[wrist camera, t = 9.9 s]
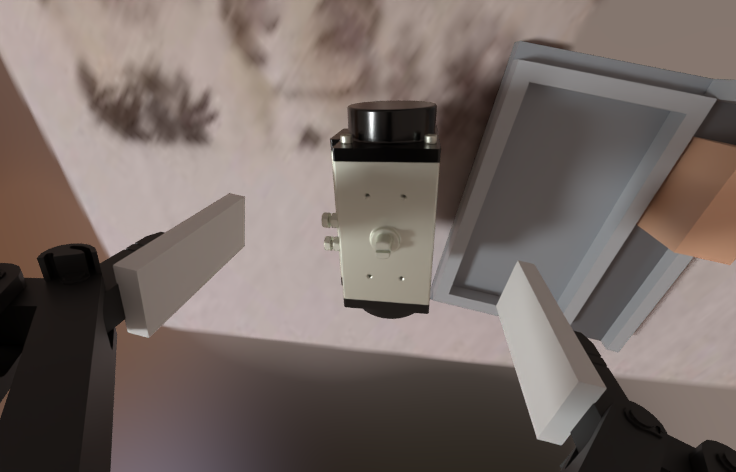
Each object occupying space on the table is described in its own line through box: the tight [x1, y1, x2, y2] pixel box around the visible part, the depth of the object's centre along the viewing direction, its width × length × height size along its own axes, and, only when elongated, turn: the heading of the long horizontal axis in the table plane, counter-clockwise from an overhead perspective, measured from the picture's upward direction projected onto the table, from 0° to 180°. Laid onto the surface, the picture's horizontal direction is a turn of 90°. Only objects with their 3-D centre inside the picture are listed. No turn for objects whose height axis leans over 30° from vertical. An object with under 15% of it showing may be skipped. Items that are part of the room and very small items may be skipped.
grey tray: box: [430, 41, 736, 352], centre depth 23 cm, size 20×16×4 cm
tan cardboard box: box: [636, 136, 736, 265], centre depth 19 cm, size 6×3×4 cm, turn 170°
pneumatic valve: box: [322, 101, 441, 319], centre depth 20 cm, size 6×12×12 cm, turn 2°
